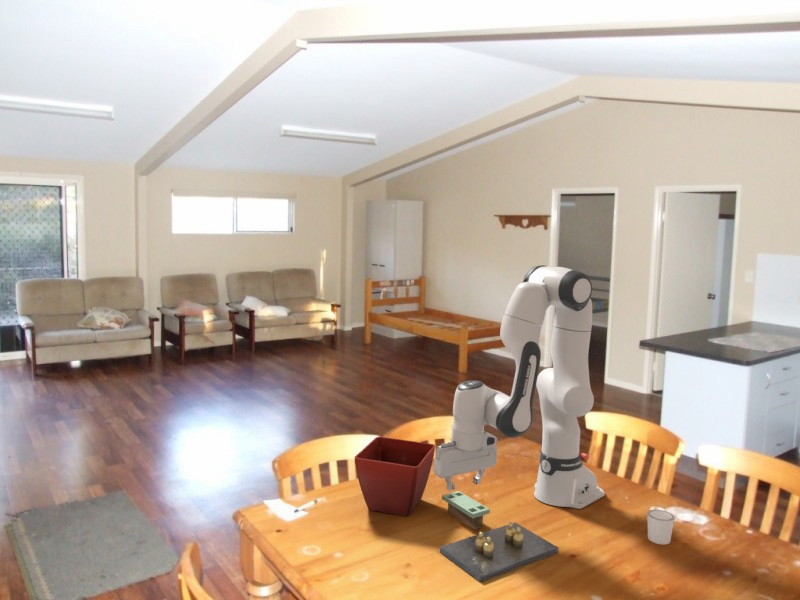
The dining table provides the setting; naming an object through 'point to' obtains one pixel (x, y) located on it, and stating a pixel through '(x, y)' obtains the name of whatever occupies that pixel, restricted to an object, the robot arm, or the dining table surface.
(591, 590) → the dining table surface
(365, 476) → the plant pot
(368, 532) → the dining table surface
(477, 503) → the board
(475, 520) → the stand
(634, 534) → the dining table surface
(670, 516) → the white cup
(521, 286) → the robot arm
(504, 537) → the peg assembly base
